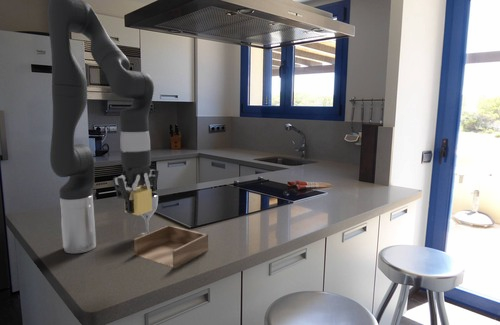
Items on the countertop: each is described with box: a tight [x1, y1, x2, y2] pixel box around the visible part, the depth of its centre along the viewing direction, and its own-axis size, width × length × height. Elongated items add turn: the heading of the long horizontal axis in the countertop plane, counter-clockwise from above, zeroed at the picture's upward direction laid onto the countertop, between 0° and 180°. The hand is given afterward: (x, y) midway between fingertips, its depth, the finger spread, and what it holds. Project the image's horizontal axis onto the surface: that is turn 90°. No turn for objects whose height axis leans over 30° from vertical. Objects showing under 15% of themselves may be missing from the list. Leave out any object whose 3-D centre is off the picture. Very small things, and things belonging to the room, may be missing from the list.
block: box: [123, 186, 152, 216], centre depth 95 cm, size 5×5×6 cm
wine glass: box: [138, 191, 159, 236], centre depth 122 cm, size 8×8×15 cm
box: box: [133, 224, 209, 269], centre depth 108 cm, size 17×15×6 cm
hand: (138, 210), depth 96 cm, fingers closed on block, 5 cm apart
